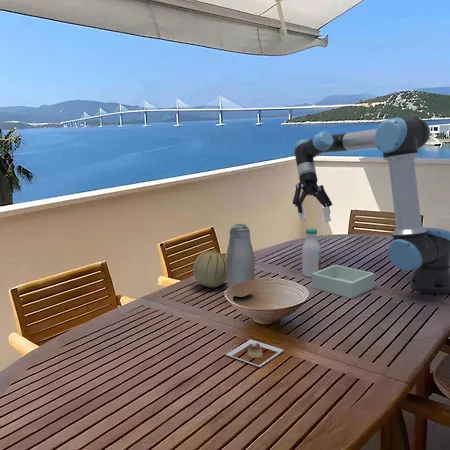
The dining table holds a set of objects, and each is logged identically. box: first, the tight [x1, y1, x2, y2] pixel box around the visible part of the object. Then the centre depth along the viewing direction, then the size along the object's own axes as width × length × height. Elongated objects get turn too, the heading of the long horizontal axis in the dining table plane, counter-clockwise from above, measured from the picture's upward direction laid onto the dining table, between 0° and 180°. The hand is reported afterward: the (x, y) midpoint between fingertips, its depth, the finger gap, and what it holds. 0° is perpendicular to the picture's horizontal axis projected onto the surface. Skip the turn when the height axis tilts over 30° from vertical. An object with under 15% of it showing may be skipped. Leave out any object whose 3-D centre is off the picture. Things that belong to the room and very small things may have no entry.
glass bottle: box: [225, 223, 255, 288], centre depth 178 cm, size 10×10×28 cm
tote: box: [311, 264, 376, 299], centre depth 185 cm, size 18×16×6 cm
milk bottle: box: [301, 227, 322, 278], centre depth 200 cm, size 8×8×20 cm
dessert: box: [225, 339, 285, 368], centre depth 134 cm, size 12×12×5 cm
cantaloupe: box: [192, 248, 227, 288], centre depth 191 cm, size 15×15×15 cm
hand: (316, 221), depth 200 cm, fingers open, 13 cm apart
